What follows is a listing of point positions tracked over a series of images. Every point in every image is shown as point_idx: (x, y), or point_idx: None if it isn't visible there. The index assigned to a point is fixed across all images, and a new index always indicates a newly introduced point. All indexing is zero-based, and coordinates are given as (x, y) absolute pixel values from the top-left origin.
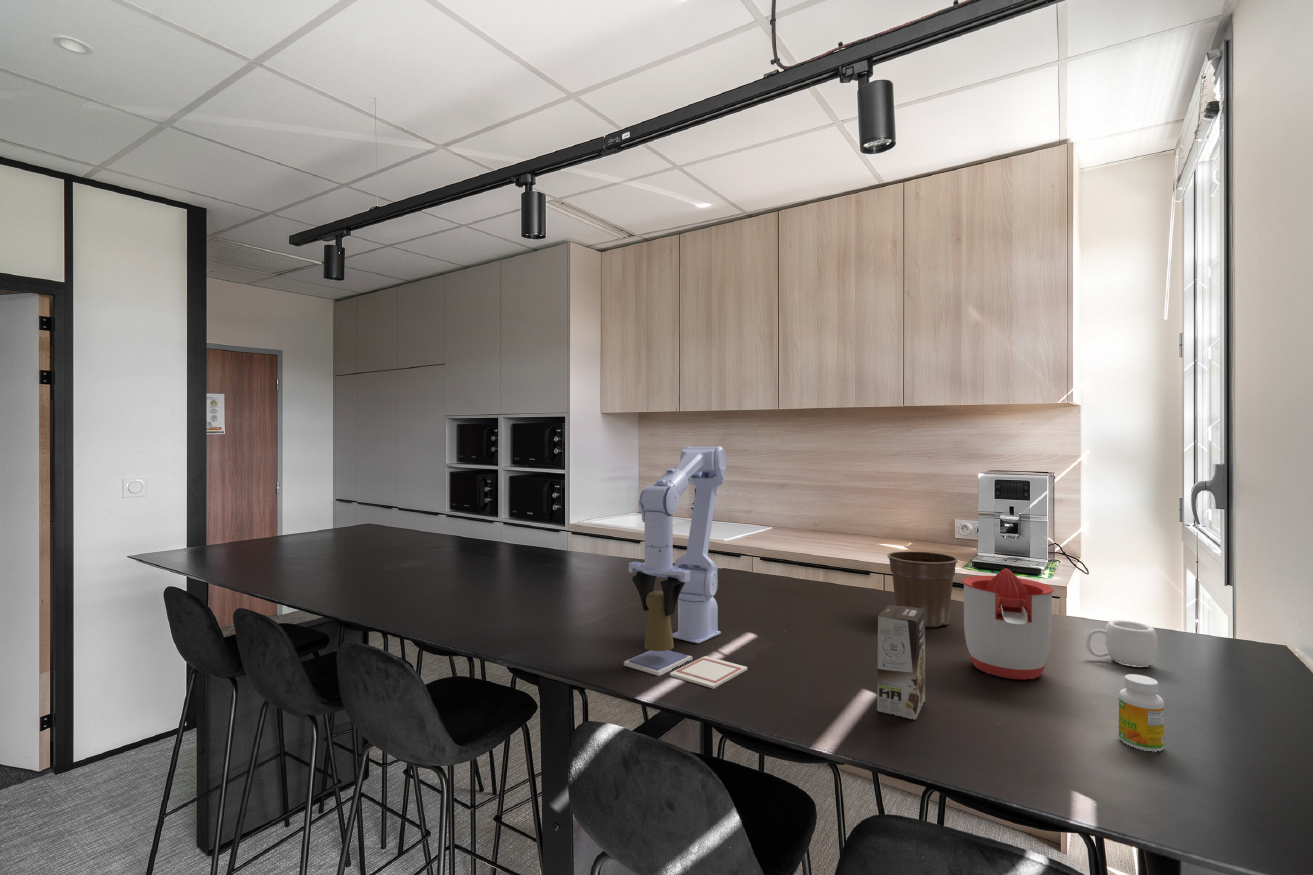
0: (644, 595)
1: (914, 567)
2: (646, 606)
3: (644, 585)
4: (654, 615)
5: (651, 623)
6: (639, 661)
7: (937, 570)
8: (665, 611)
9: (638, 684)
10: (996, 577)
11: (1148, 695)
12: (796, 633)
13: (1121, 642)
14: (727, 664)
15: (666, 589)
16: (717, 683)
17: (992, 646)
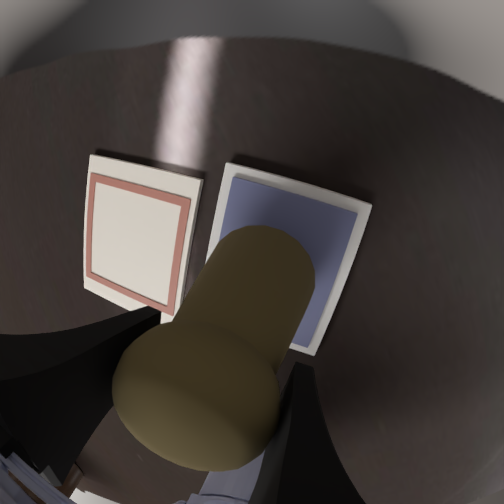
0: (286, 429)
1: (19, 482)
2: (290, 382)
3: (268, 493)
4: (215, 303)
5: (245, 279)
6: (318, 214)
7: (9, 471)
8: (143, 313)
9: (256, 80)
10: None
11: None
12: (122, 447)
13: None
14: (113, 288)
15: (15, 349)
16: (88, 171)
17: None
